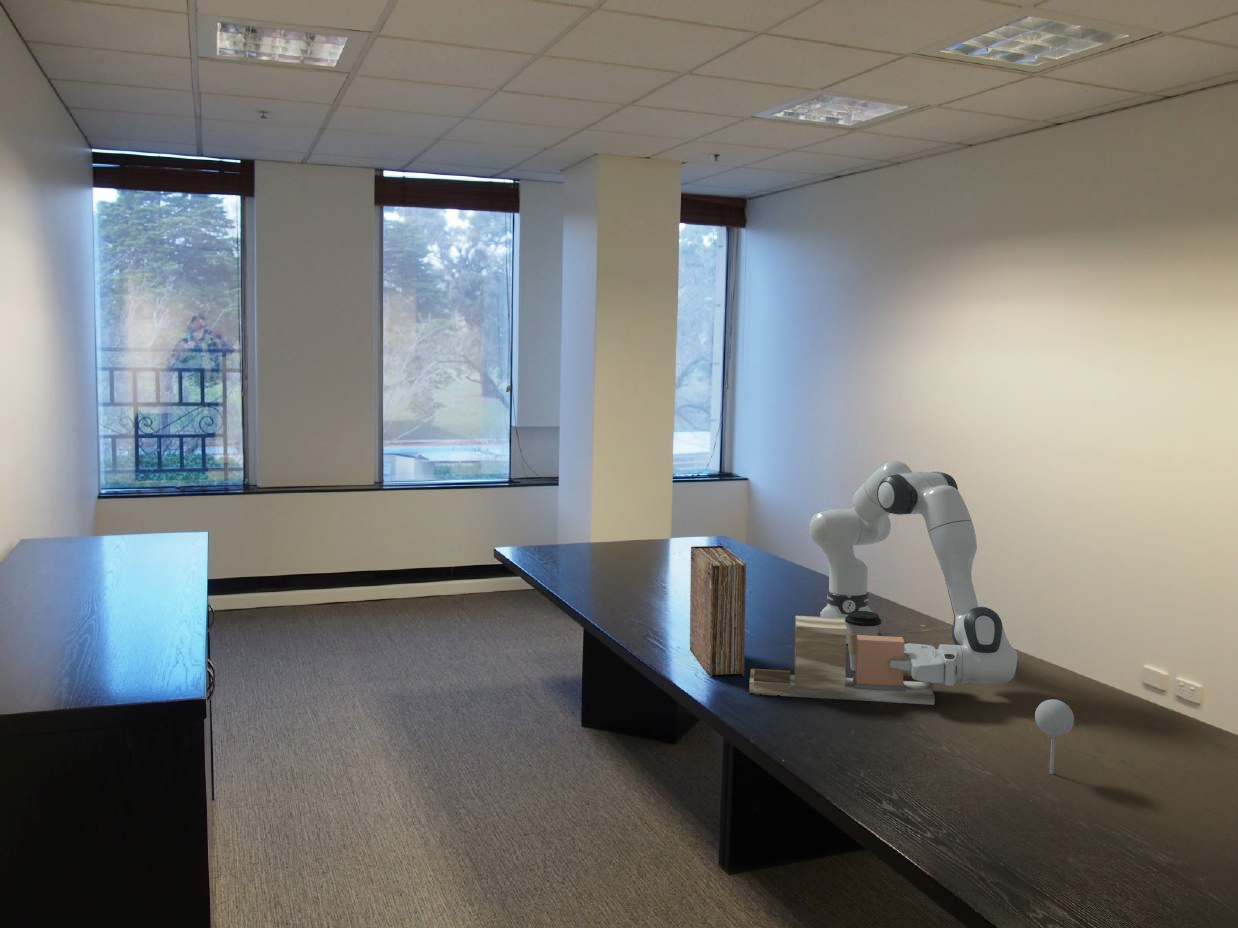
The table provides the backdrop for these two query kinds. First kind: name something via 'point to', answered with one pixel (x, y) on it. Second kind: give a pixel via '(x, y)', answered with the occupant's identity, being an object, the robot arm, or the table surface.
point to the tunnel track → (827, 669)
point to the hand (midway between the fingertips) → (888, 659)
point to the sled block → (878, 663)
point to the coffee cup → (860, 630)
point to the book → (717, 610)
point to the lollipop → (1054, 721)
